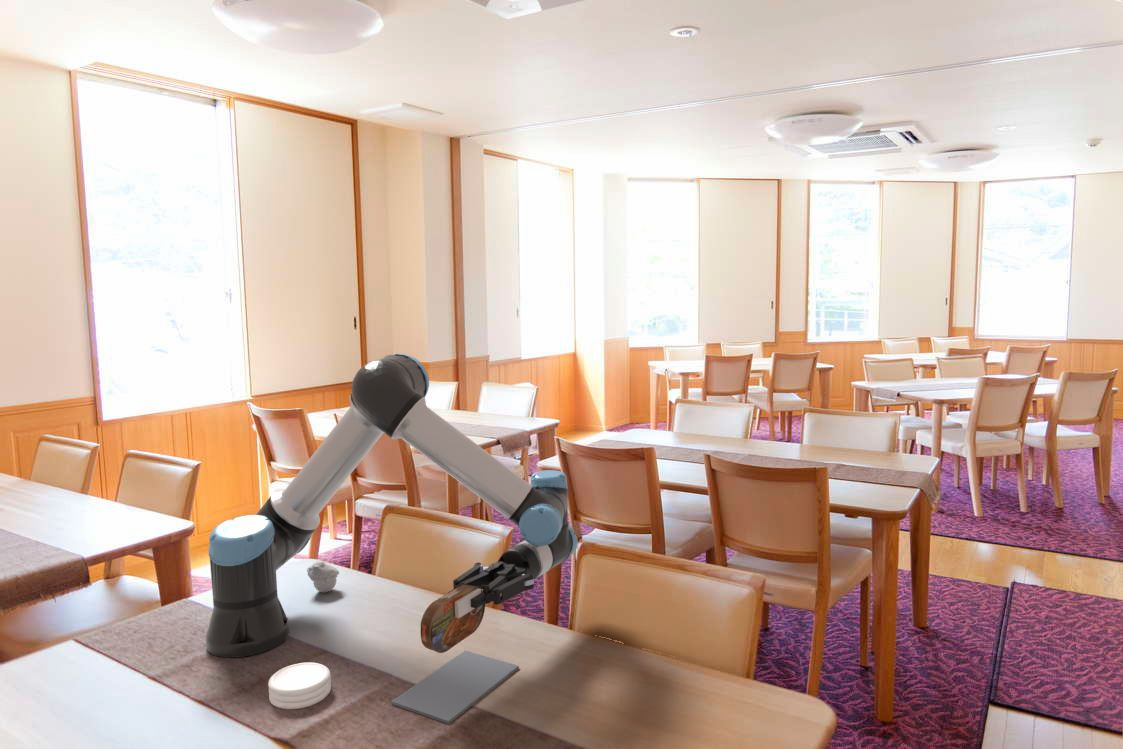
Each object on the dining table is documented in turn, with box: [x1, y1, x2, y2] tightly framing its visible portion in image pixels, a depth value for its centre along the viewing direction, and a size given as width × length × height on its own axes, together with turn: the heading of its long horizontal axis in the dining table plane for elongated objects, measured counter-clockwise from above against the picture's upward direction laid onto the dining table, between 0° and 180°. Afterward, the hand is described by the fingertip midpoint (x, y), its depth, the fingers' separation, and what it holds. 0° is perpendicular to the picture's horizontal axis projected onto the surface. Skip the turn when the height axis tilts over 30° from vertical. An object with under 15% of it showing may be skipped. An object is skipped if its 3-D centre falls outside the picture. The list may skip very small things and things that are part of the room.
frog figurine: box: [306, 560, 340, 593], centre depth 174 cm, size 6×7×7 cm
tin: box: [420, 585, 486, 654], centre depth 131 cm, size 15×3×8 cm, turn 150°
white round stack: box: [267, 662, 332, 710], centre depth 131 cm, size 10×10×4 cm
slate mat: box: [391, 650, 519, 725], centre depth 133 cm, size 12×20×1 cm, turn 150°
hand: (448, 608), depth 130 cm, fingers closed on tin, 3 cm apart
